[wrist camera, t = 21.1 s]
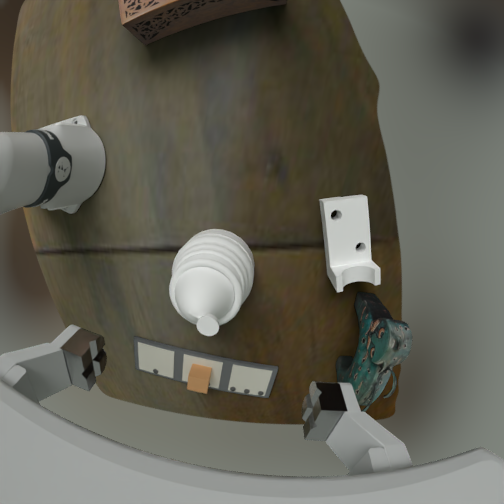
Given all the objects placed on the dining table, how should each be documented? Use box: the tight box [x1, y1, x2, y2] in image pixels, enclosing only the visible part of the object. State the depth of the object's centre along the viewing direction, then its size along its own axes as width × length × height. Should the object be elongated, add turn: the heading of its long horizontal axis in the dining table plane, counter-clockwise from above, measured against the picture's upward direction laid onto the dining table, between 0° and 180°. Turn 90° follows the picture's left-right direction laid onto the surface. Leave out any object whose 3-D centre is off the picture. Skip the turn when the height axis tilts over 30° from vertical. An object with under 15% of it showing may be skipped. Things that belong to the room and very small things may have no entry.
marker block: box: [187, 364, 212, 394], centre depth 52 cm, size 4×4×4 cm
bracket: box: [319, 195, 380, 292], centre depth 42 cm, size 13×7×8 cm, turn 10°
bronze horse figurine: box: [336, 292, 412, 412], centre depth 41 cm, size 20×6×20 cm, turn 172°
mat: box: [134, 336, 278, 398], centre depth 54 cm, size 30×9×1 cm, turn 79°
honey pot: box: [169, 229, 255, 336], centre depth 39 cm, size 13×13×18 cm
